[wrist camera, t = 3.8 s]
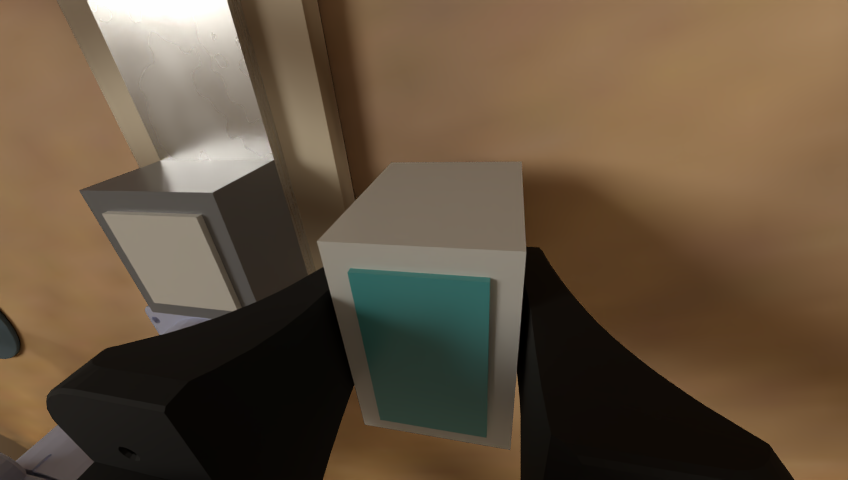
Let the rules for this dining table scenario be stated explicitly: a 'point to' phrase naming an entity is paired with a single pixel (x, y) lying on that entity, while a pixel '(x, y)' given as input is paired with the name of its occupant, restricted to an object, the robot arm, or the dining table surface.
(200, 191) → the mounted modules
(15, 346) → the cocktail glass
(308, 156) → the rail board
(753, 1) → the dining table surface
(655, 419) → the robot arm
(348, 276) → the block
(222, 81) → the din rail
